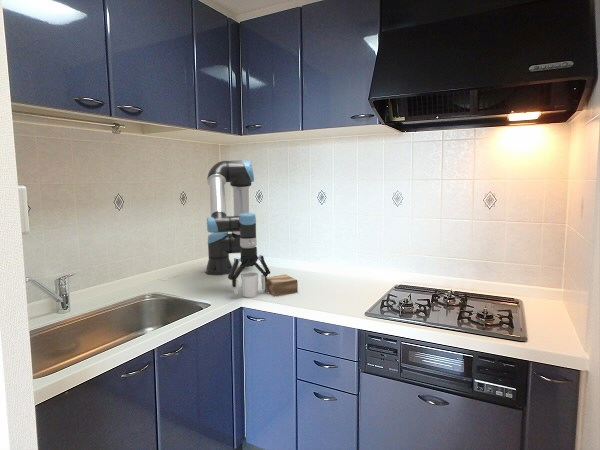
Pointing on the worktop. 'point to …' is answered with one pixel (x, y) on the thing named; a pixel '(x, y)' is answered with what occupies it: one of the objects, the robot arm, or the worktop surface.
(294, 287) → the walnut box
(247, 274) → the white cup
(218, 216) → the robot arm
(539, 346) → the worktop surface
